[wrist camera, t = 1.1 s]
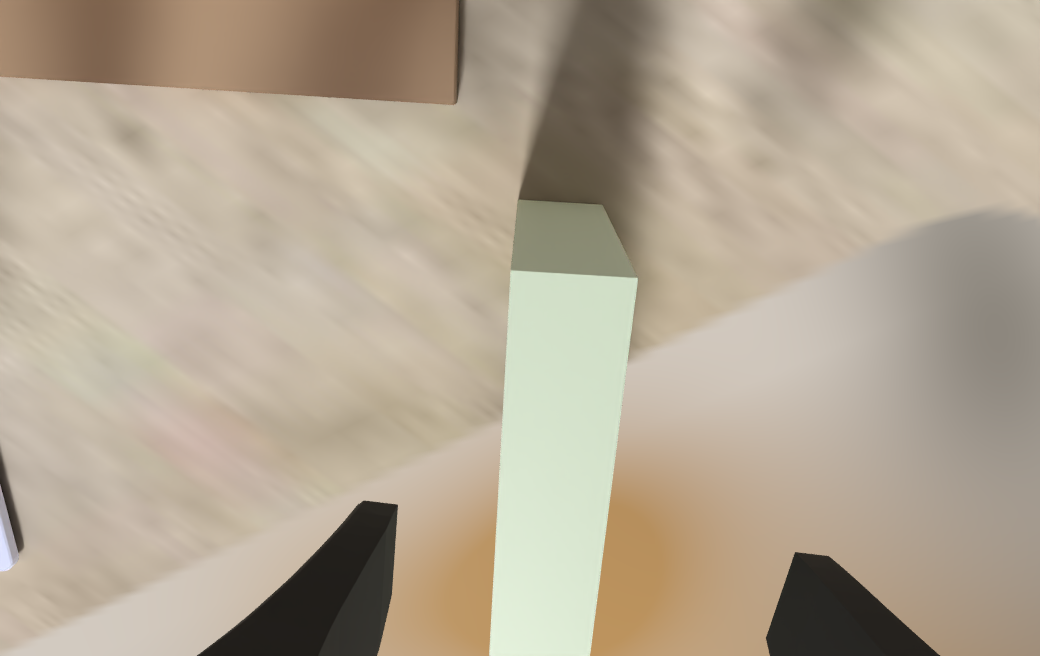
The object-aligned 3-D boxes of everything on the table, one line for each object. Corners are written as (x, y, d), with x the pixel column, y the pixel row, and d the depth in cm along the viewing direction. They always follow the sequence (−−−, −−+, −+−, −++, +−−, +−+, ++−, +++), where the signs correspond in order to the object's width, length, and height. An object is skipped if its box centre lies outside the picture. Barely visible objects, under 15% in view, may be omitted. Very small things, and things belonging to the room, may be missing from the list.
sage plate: (566, 547, 24) (580, 731, 17) (498, 542, 24) (485, 726, 17) (602, 204, 19) (638, 278, 13) (517, 199, 19) (510, 270, 13)
